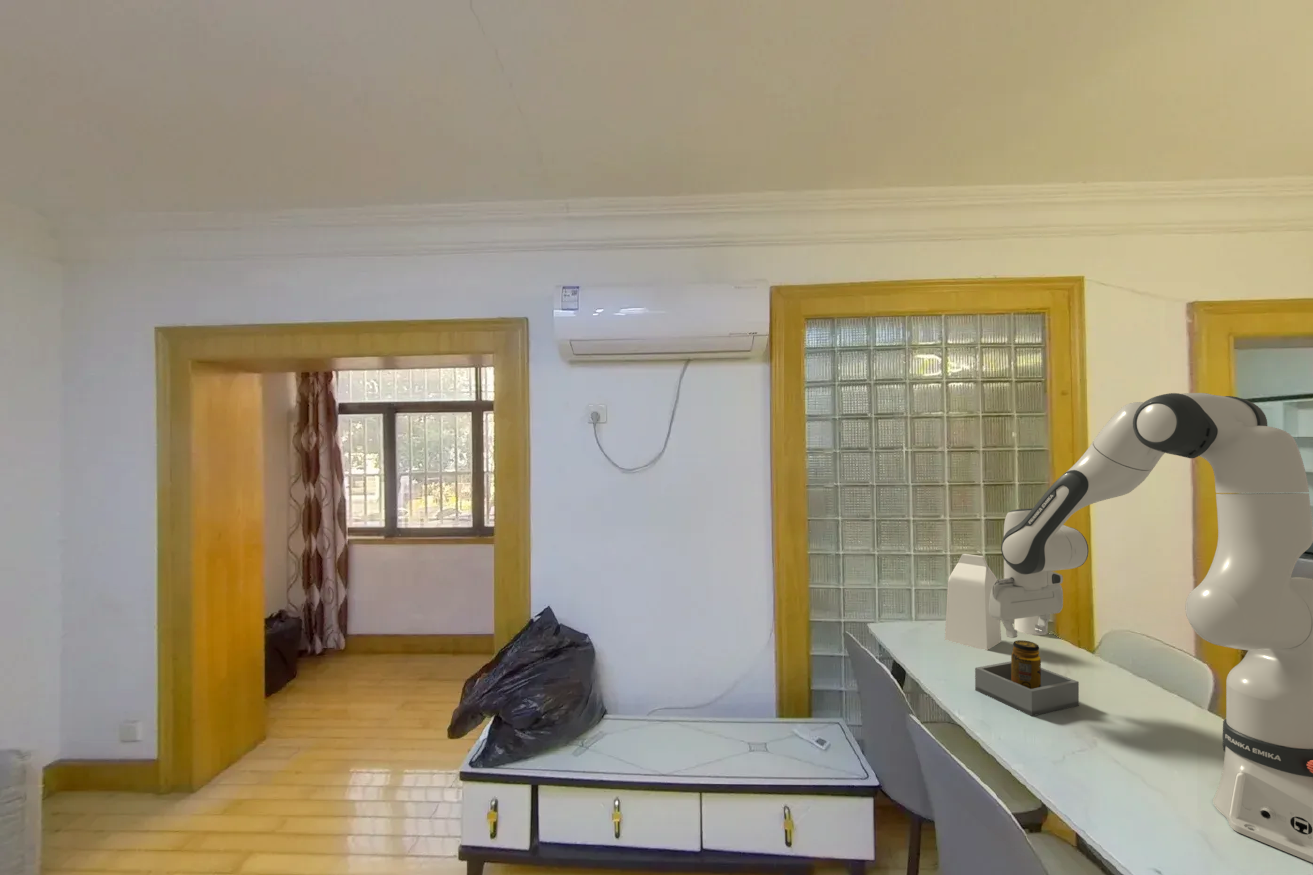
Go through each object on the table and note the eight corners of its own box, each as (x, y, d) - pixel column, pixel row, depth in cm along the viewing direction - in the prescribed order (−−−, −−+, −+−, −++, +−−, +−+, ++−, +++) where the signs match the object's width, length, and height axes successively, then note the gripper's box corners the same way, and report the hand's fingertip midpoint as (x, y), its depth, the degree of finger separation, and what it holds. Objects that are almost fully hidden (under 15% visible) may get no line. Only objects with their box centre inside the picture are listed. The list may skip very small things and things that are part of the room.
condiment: (1048, 695, 146) (1048, 644, 146) (1030, 704, 141) (1030, 651, 141) (1016, 685, 152) (1016, 636, 152) (998, 693, 147) (998, 642, 147)
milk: (944, 640, 188) (944, 555, 188) (960, 632, 196) (960, 550, 196) (986, 650, 179) (986, 560, 179) (1001, 641, 187) (1001, 555, 187)
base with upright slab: (1008, 627, 200) (1007, 590, 200) (1029, 625, 203) (1029, 588, 203) (1032, 636, 192) (1032, 597, 191) (1054, 633, 194) (1054, 595, 194)
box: (1078, 705, 143) (1078, 681, 143) (1031, 716, 137) (1031, 691, 137) (1019, 681, 157) (1019, 659, 157) (975, 690, 151) (975, 667, 151)
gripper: (1004, 582, 140) (1005, 644, 140) (1068, 575, 147) (1069, 633, 147) (981, 577, 146) (982, 636, 146) (1043, 570, 153) (1044, 626, 153)
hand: (1026, 634), depth 147 cm, fingers open, 8 cm apart
